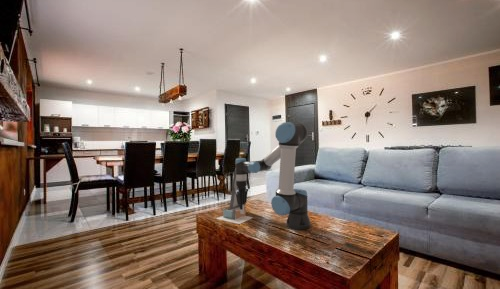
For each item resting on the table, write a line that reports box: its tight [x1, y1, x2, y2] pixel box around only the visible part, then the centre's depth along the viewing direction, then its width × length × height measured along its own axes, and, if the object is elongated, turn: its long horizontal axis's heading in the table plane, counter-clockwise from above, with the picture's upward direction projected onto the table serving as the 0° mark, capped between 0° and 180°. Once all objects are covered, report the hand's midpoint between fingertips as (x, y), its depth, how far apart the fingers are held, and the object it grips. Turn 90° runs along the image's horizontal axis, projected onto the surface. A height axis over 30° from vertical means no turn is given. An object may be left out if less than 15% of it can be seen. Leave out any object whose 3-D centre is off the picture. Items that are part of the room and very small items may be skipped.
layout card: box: [216, 215, 254, 225], centre depth 166 cm, size 21×16×1 cm
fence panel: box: [235, 207, 247, 218], centre depth 167 cm, size 8×1×6 cm, turn 126°
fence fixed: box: [222, 207, 235, 219], centre depth 167 cm, size 11×2×7 cm, turn 54°
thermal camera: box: [227, 167, 240, 211], centre depth 186 cm, size 12×13×35 cm
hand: (242, 213), depth 166 cm, fingers closed
